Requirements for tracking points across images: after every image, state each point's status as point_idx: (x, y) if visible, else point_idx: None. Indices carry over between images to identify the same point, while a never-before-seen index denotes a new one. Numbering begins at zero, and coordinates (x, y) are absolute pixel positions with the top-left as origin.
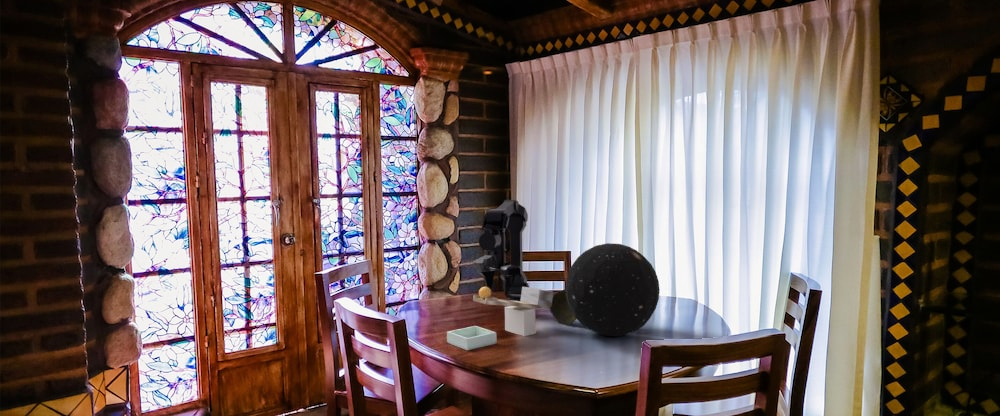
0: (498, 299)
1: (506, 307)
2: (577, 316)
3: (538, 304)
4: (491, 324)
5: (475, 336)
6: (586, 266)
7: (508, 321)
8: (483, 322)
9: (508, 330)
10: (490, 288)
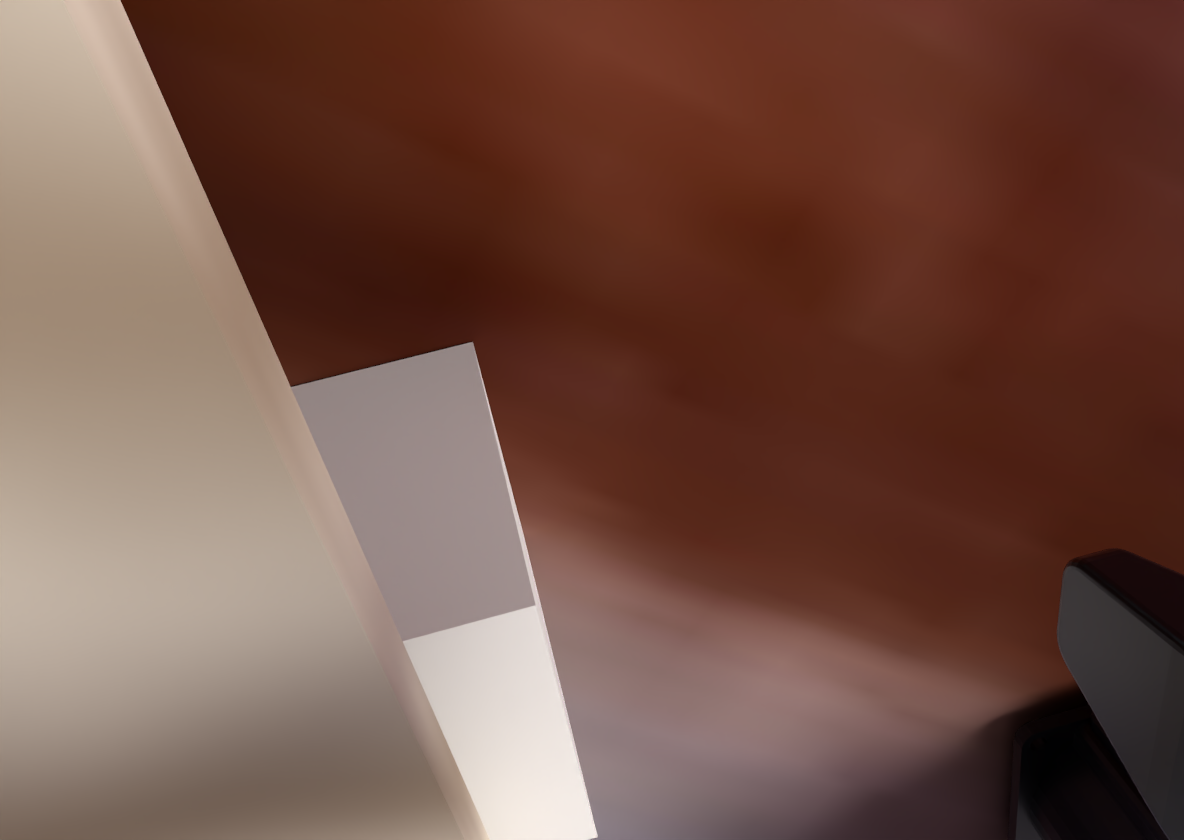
0: (262, 573)
1: (477, 627)
2: None
3: None
4: (938, 292)
5: None
6: None
7: (384, 458)
8: (1127, 228)
9: (383, 372)
10: (1135, 723)
